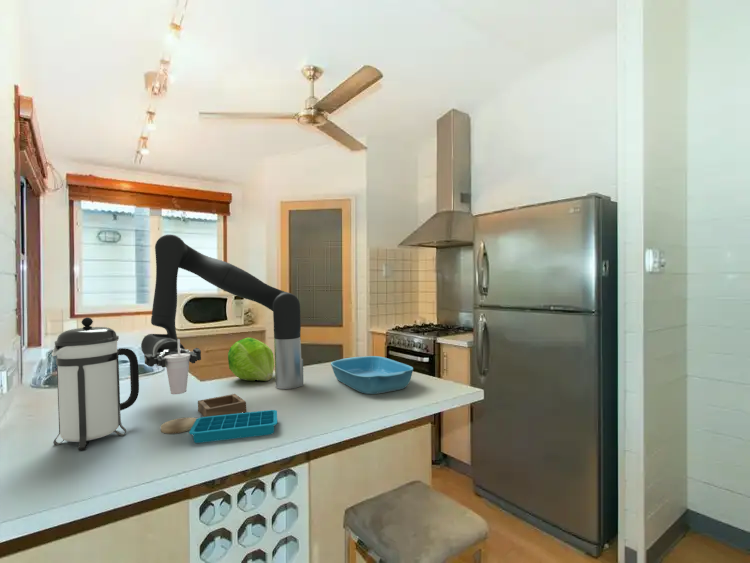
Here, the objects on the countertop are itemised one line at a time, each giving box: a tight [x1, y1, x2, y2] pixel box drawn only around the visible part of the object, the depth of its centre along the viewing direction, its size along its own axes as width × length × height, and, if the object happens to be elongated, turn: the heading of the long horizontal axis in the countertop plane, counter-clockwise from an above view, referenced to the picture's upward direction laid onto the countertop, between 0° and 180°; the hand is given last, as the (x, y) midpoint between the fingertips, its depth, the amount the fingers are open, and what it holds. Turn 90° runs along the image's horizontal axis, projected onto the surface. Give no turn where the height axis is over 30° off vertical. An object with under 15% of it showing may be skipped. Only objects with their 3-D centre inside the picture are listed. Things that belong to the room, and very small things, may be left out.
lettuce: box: [227, 337, 275, 382], centre depth 156 cm, size 17×20×16 cm
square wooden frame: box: [197, 393, 247, 417], centre depth 119 cm, size 11×11×3 cm
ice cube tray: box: [188, 409, 278, 444], centre depth 103 cm, size 12×20×3 cm, turn 104°
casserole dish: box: [330, 355, 414, 395], centre depth 146 cm, size 37×22×7 cm, turn 27°
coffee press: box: [51, 317, 140, 452], centre depth 101 cm, size 17×16×30 cm
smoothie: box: [164, 338, 191, 395], centre depth 107 cm, size 6×6×14 cm
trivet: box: [160, 417, 198, 435], centre depth 107 cm, size 9×9×1 cm
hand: (179, 361), depth 105 cm, fingers closed on smoothie, 6 cm apart
